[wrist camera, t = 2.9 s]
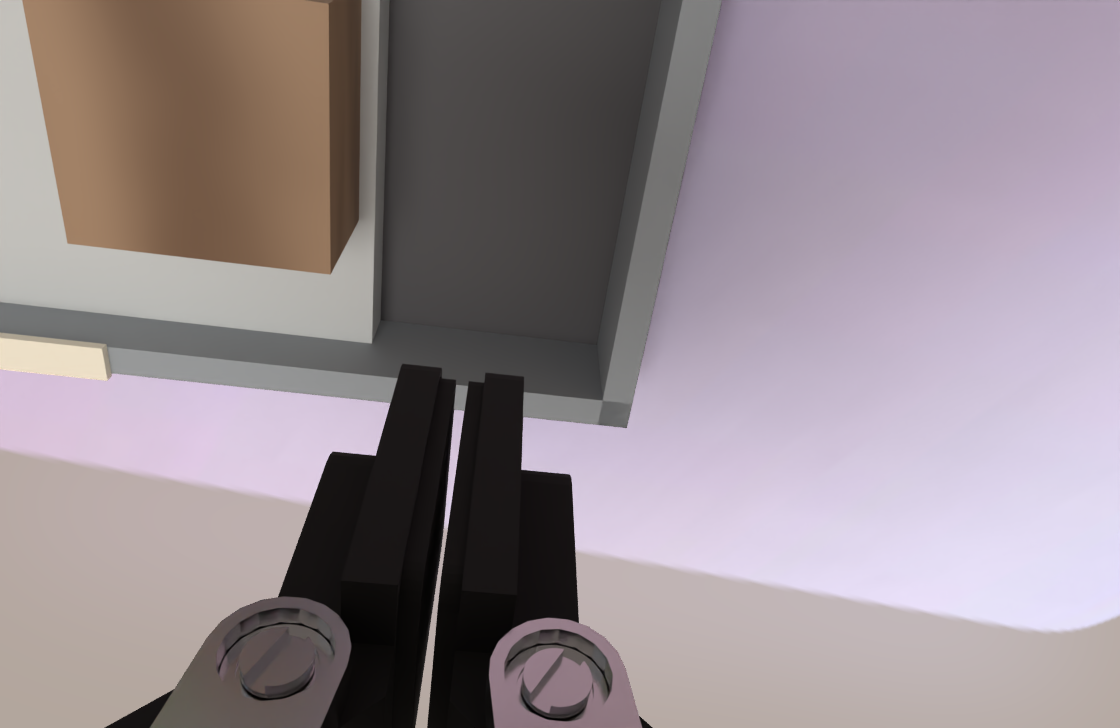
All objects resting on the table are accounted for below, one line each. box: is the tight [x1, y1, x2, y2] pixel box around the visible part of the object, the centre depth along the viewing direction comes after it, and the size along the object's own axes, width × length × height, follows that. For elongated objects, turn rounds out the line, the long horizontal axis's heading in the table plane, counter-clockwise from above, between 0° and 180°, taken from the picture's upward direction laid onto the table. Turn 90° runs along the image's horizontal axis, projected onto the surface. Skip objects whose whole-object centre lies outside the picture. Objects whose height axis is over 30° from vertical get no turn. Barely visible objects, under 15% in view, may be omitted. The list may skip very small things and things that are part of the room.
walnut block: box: [22, 0, 362, 275], centre depth 22 cm, size 7×7×4 cm
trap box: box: [0, 0, 722, 428], centre depth 24 cm, size 34×18×5 cm, turn 82°
